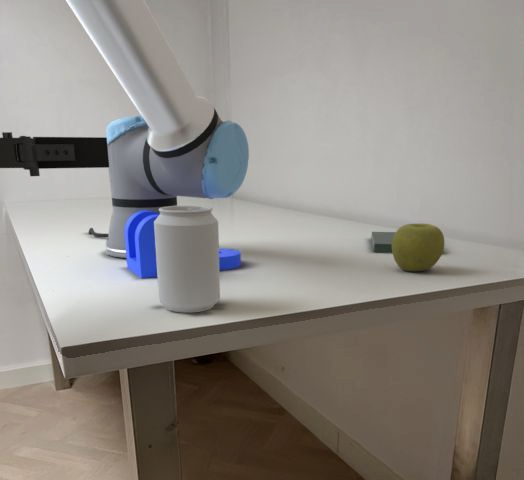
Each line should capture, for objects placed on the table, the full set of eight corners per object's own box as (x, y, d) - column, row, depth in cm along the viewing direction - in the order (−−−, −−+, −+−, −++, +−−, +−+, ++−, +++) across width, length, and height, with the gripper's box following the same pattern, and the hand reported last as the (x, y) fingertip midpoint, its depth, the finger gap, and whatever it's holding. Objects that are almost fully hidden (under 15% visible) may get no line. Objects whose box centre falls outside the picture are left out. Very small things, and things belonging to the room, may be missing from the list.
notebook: (373, 252, 104) (374, 243, 103) (371, 239, 119) (371, 231, 118) (439, 254, 102) (440, 245, 102) (428, 240, 117) (429, 232, 116)
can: (162, 298, 72) (156, 203, 68) (219, 297, 72) (217, 203, 68) (156, 315, 65) (149, 210, 61) (220, 313, 65) (218, 209, 61)
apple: (445, 275, 85) (450, 228, 82) (391, 274, 86) (395, 227, 83) (436, 266, 92) (441, 222, 89) (387, 264, 93) (391, 221, 90)
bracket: (141, 278, 83) (136, 217, 80) (127, 268, 90) (122, 211, 87) (249, 267, 91) (248, 211, 88) (228, 258, 98) (227, 206, 95)
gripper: (-153, 190, 57) (70, 184, 68) (-179, 211, 39) (130, 197, 50) (-172, 111, 54) (63, 117, 65) (-211, 93, 36) (123, 106, 47)
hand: (92, 152), depth 57 cm, fingers open, 10 cm apart
